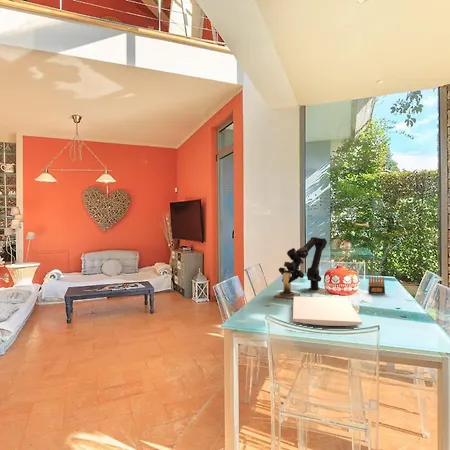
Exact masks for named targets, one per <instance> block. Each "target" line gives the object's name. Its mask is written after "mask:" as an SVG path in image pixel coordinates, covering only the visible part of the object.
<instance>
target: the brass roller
mask: <svg viewBox="0 0 450 450" xmlns="http://www.w3.org/2000/svg"><path fill="white" fill-rule="evenodd" d="M291 276H292V274H291V273H290V272H284V273H283V275H282V279H283V282H282V286H283V287H282V291H283V292H292V290H291V288H292V287H291V285H292V282H291V283H288V282H289V279H290V278H291Z"/></svg>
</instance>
